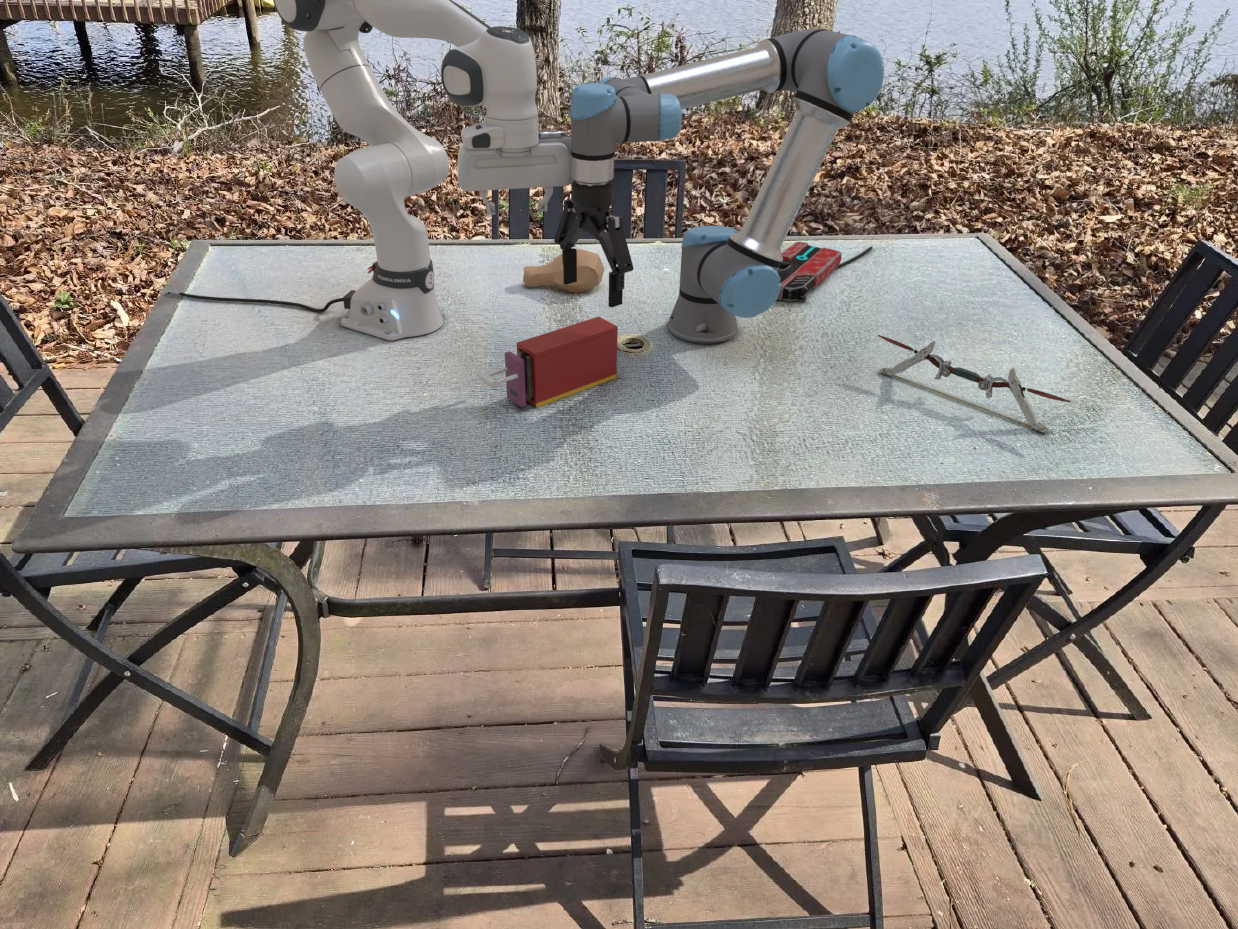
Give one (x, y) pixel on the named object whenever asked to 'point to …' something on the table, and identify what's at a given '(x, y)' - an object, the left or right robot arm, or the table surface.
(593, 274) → the squash
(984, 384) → the bow
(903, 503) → the table surface
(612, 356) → the red yellow-edged box
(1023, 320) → the table surface
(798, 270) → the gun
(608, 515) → the table surface
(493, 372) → the drawer
